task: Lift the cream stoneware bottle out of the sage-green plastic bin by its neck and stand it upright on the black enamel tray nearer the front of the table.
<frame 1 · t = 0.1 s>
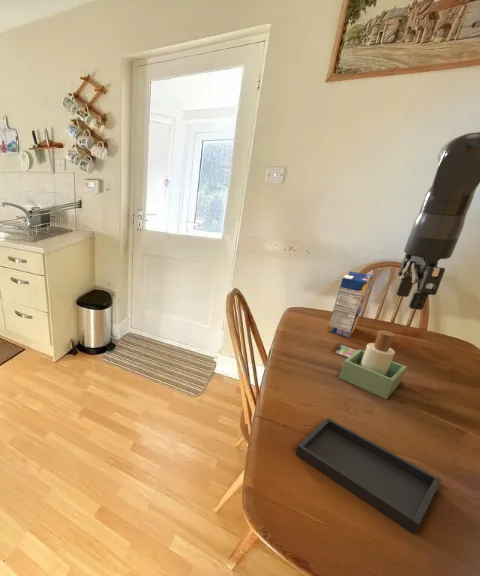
hand: (408, 301, 74), 29 cm above the table, tool pointing down, fingers open, 8 cm apart
bin: (367, 382, 92), on the table
tray: (361, 470, 65), on the table
smartphone: (364, 361, 102), on the table
beverage box: (341, 330, 122), on the table
bottle: (368, 380, 92), point 1 cm above the table, touching bin
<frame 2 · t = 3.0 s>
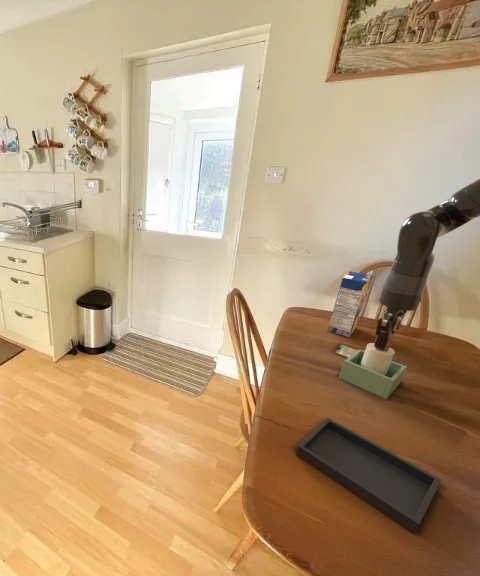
hand: (381, 345, 87), 13 cm above the table, tool pointing down, fingers closed on bottle, 3 cm apart
bottle: (368, 380, 92), point 1 cm above the table, touching bin, gripper
everything else where it was.
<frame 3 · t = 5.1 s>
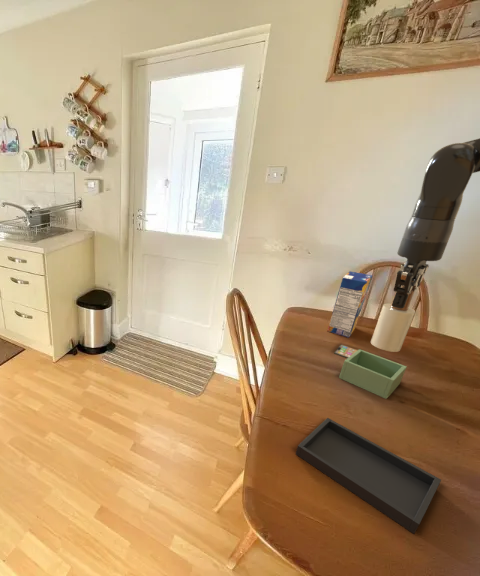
hand: (400, 305, 78), 27 cm above the table, tool pointing down, fingers closed on bottle, 3 cm apart
bottle: (385, 345, 83), point 15 cm above the table, touching gripper
everything else where it was.
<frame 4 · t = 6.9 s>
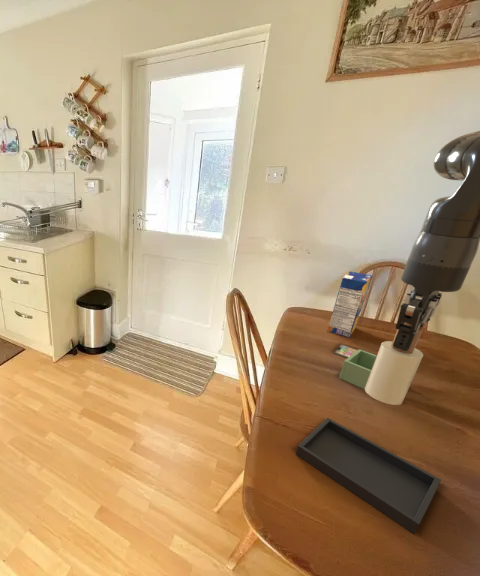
hand: (403, 345, 60), 27 cm above the table, tool pointing down, fingers closed on bottle, 3 cm apart
bottle: (383, 394, 64), point 16 cm above the table, touching gripper
everything else where it was.
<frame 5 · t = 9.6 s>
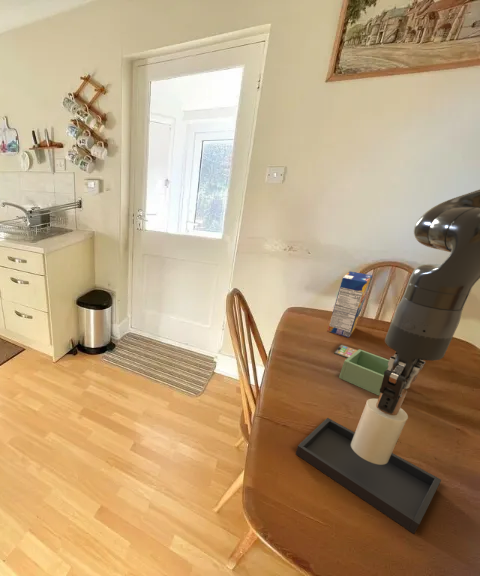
hand: (388, 405, 59), 17 cm above the table, tool pointing down, fingers closed on bottle, 3 cm apart
bottle: (369, 451, 64), point 5 cm above the table, touching gripper
everything else where it was.
when the fingers open (12 cm above the table, at t = 11.1 s): bottle stays where it is, resting on tray.
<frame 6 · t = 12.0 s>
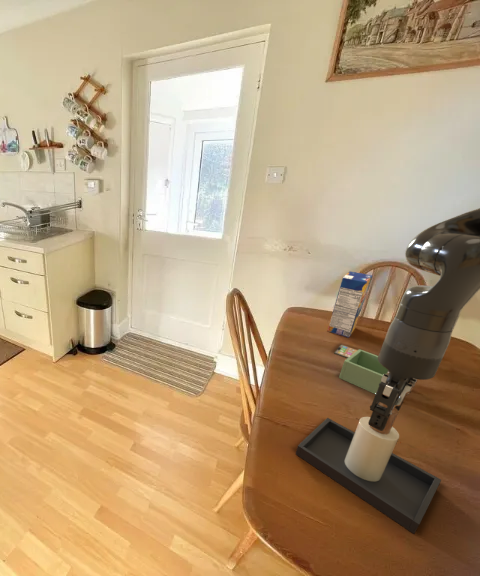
hand: (383, 417, 60), 14 cm above the table, tool pointing down, fingers open, 8 cm apart
bottle: (362, 468, 65), point 1 cm above the table, touching tray
everything else where it was.
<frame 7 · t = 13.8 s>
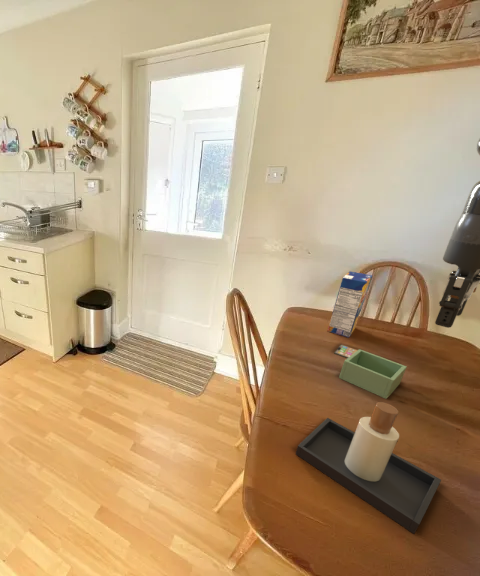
hand: (447, 319, 62), 31 cm above the table, tool pointing down, fingers open, 8 cm apart
nothing on the table moved.
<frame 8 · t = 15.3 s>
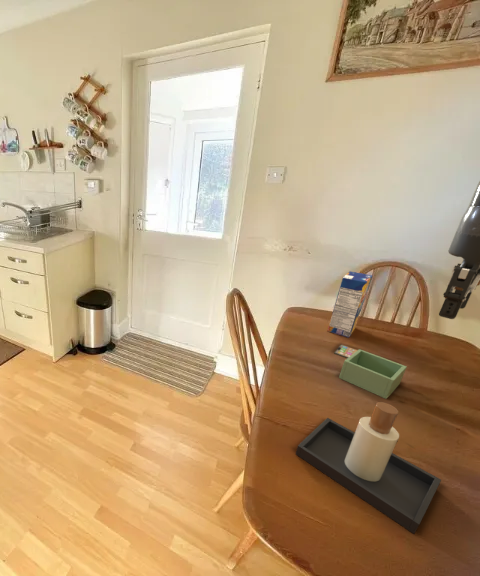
hand: (451, 312, 63), 32 cm above the table, tool pointing down, fingers open, 8 cm apart
nothing on the table moved.
at the end: bottle inside the target area in the tray (0.1 cm from its centre), point 0.6 cm above the tray's base; bottle tilted 0°; the gripper is holding nothing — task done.
